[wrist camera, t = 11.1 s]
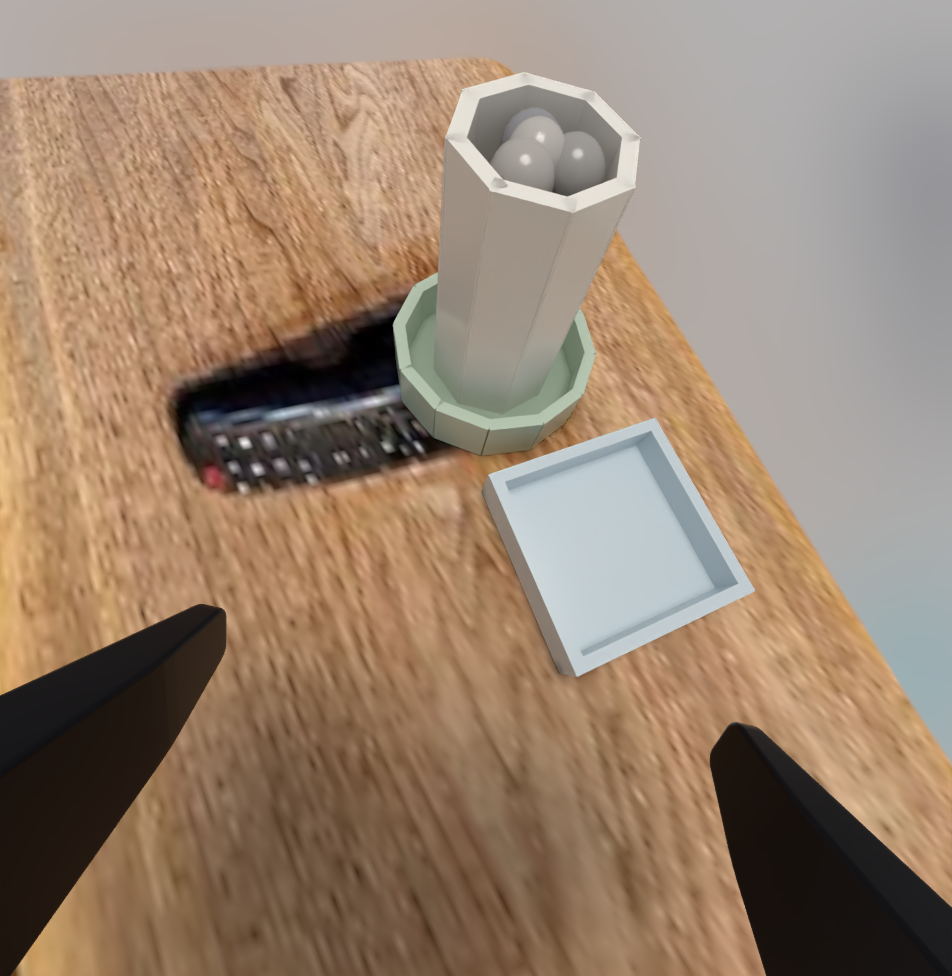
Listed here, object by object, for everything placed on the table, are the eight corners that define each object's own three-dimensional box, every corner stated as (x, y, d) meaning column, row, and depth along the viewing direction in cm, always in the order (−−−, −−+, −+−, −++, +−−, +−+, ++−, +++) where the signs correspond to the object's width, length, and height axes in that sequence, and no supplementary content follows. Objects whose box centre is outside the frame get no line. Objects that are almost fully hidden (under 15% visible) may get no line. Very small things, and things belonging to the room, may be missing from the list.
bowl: (546, 480, 24) (563, 458, 21) (367, 412, 24) (361, 381, 21) (592, 337, 28) (611, 302, 25) (437, 279, 28) (439, 237, 25)
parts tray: (721, 596, 23) (755, 590, 21) (559, 673, 21) (577, 677, 18) (633, 438, 26) (655, 417, 23) (481, 491, 23) (488, 474, 21)
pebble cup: (533, 422, 24) (637, 216, 13) (425, 396, 24) (431, 161, 12) (549, 335, 26) (650, 91, 15) (450, 310, 26) (474, 42, 15)
